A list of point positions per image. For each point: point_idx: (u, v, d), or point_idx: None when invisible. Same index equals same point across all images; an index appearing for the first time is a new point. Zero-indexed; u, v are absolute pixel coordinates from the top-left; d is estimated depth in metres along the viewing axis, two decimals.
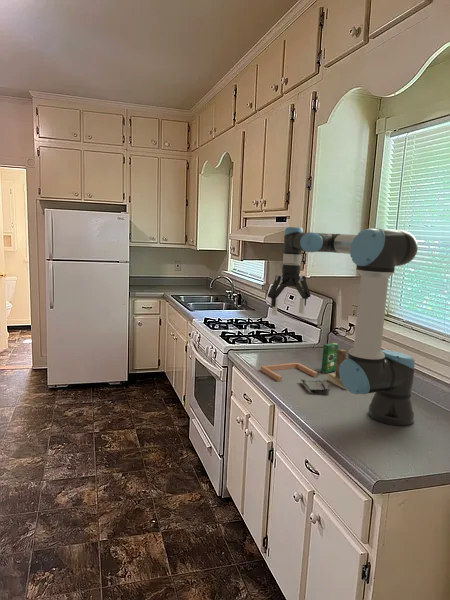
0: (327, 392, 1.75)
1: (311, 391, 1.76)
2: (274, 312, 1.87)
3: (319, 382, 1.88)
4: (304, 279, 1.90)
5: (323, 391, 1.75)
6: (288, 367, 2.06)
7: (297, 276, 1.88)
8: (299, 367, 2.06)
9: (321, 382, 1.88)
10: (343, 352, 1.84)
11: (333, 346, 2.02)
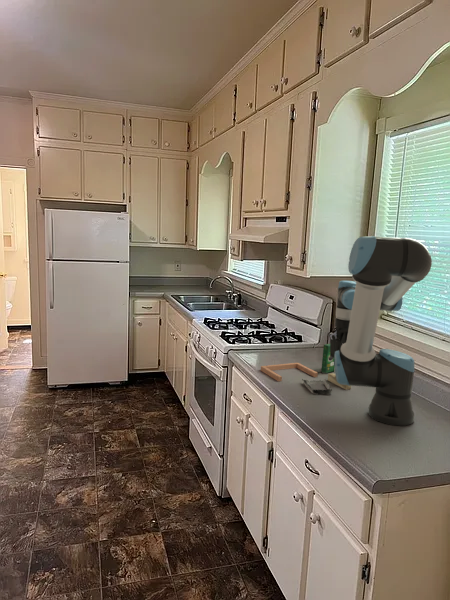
0: (329, 392, 1.75)
1: (313, 391, 1.75)
2: None
3: (320, 382, 1.88)
4: None
5: (325, 391, 1.75)
6: (288, 367, 2.06)
7: None
8: (299, 367, 2.06)
9: (322, 382, 1.88)
10: None
11: None
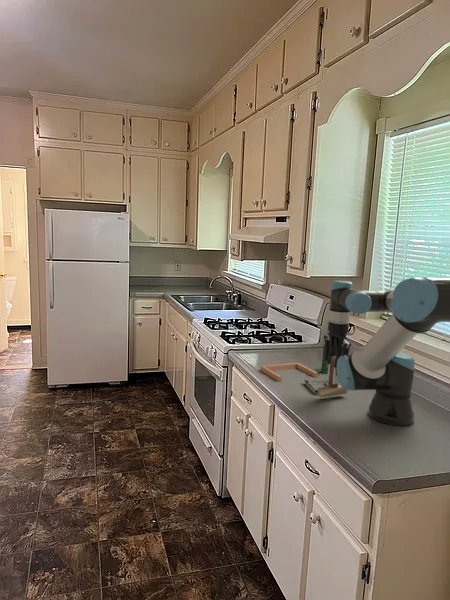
0: None
1: (316, 391, 1.75)
2: None
3: (322, 382, 1.88)
4: (343, 346, 1.63)
5: None
6: (288, 367, 2.06)
7: (340, 336, 1.65)
8: (299, 367, 2.06)
9: (324, 382, 1.88)
10: (332, 358, 1.69)
11: None
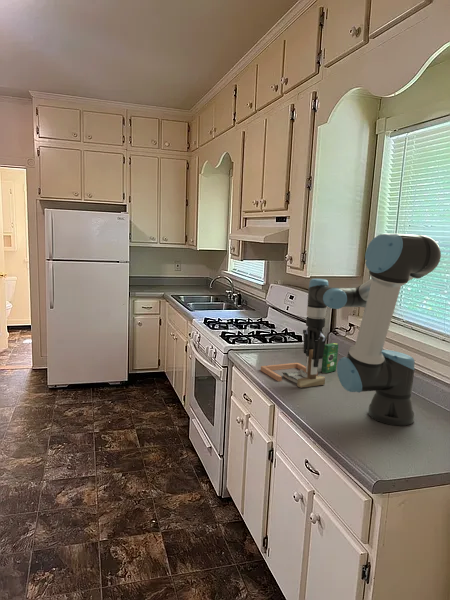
0: None
1: None
2: None
3: (297, 373, 1.98)
4: (320, 339, 1.76)
5: None
6: (288, 367, 2.06)
7: (317, 330, 1.77)
8: (299, 367, 2.06)
9: (298, 372, 1.98)
10: (310, 351, 1.82)
11: (333, 346, 2.02)
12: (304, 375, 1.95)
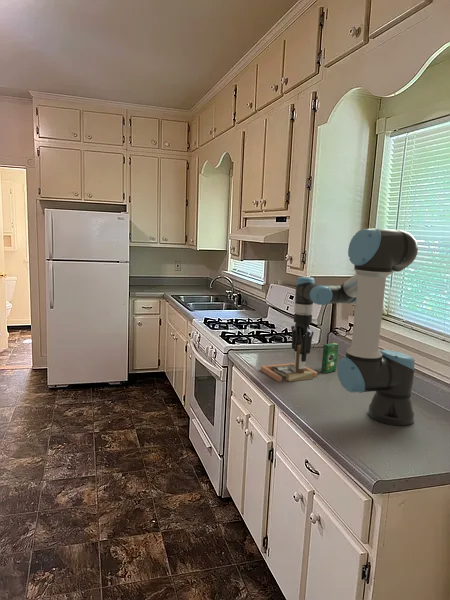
0: None
1: None
2: None
3: (286, 367, 2.05)
4: (307, 334, 1.84)
5: None
6: None
7: (304, 326, 1.85)
8: None
9: (288, 367, 2.06)
10: (298, 346, 1.90)
11: (333, 346, 2.02)
12: (293, 369, 2.03)
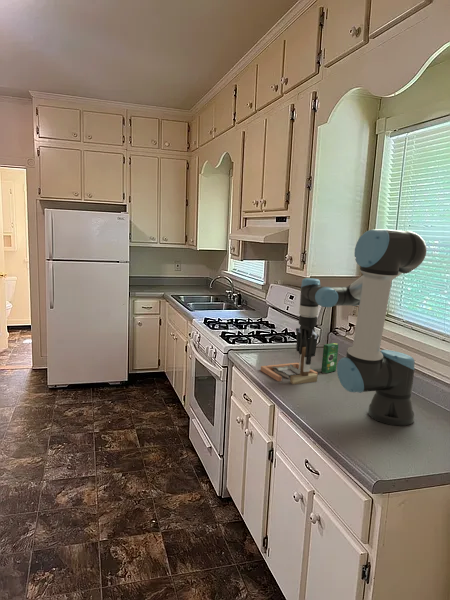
0: None
1: (289, 376, 1.92)
2: None
3: (286, 368, 2.05)
4: (312, 337, 1.80)
5: None
6: None
7: (309, 329, 1.82)
8: None
9: (288, 367, 2.06)
10: (303, 349, 1.86)
11: (333, 346, 2.02)
12: (293, 370, 2.03)
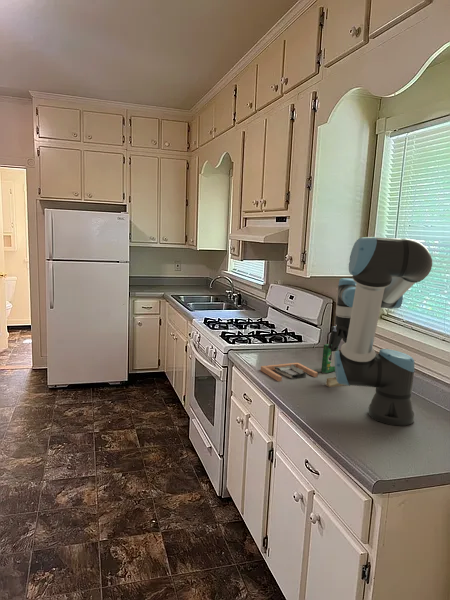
0: (305, 375, 1.95)
1: (292, 376, 1.93)
2: None
3: (288, 367, 2.06)
4: None
5: (302, 375, 1.94)
6: None
7: (346, 329, 1.81)
8: (299, 367, 2.06)
9: (290, 367, 2.06)
10: None
11: None
12: (295, 370, 2.03)
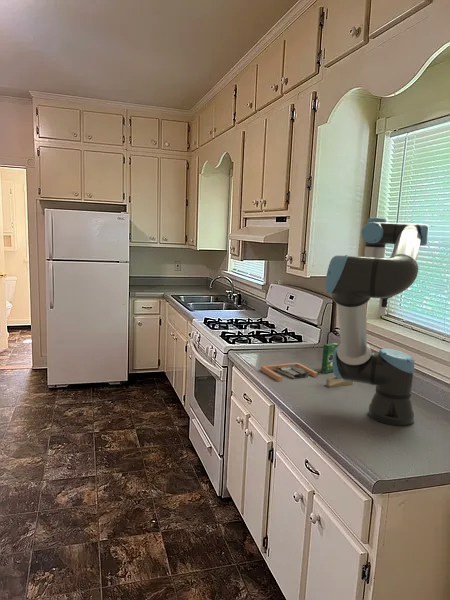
0: (306, 375, 1.95)
1: (294, 376, 1.93)
2: None
3: (289, 367, 2.06)
4: None
5: (303, 374, 1.95)
6: None
7: None
8: None
9: (291, 367, 2.06)
10: None
11: (333, 346, 2.02)
12: (296, 369, 2.03)
